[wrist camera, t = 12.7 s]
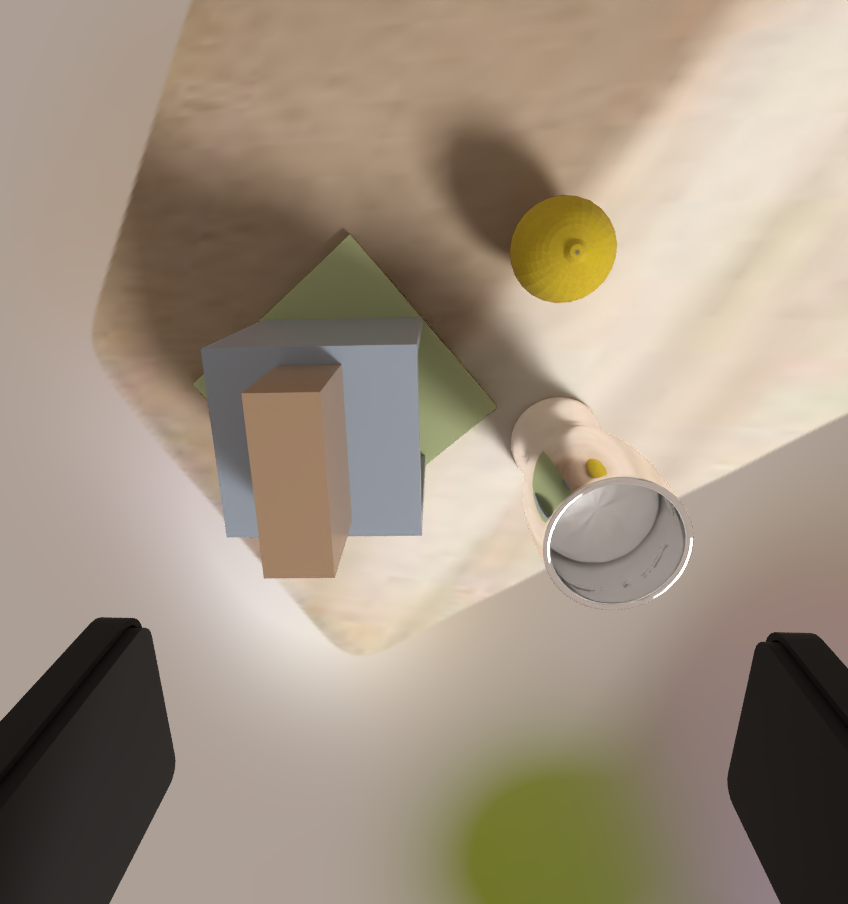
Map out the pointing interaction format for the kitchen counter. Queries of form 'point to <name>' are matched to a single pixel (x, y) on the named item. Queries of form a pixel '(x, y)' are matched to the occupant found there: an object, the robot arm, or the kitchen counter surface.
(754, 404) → the kitchen counter surface
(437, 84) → the kitchen counter surface
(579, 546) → the beer glass
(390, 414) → the cover
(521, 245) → the lemon
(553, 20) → the kitchen counter surface
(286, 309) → the mat
